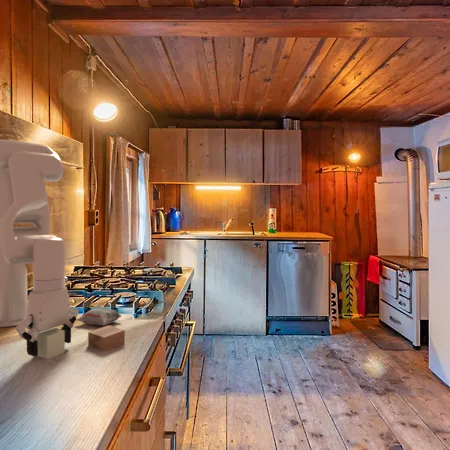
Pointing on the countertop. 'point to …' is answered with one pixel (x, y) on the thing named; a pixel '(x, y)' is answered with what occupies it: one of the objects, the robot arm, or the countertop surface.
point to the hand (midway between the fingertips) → (50, 348)
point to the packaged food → (99, 316)
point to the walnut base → (106, 337)
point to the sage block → (51, 343)
